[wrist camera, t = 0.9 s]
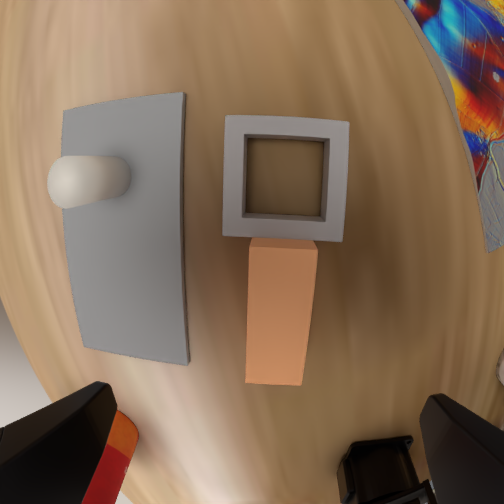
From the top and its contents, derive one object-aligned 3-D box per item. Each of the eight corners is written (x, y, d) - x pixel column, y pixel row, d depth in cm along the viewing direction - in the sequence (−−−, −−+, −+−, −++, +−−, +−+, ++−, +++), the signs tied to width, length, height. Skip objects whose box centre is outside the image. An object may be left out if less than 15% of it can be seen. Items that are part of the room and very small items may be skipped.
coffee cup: (97, 443, 26) (43, 538, 11) (65, 389, 24) (-14, 489, 9) (162, 454, 25) (118, 572, 10) (133, 398, 23) (58, 534, 8)
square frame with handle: (320, 349, 20) (328, 385, 16) (227, 344, 20) (217, 380, 16) (341, 126, 16) (359, 115, 12) (230, 121, 16) (218, 107, 13)
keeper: (185, 94, 16) (150, 67, 11) (189, 361, 21) (167, 412, 16) (68, 111, 17) (14, 102, 11) (87, 343, 22) (50, 381, 16)
